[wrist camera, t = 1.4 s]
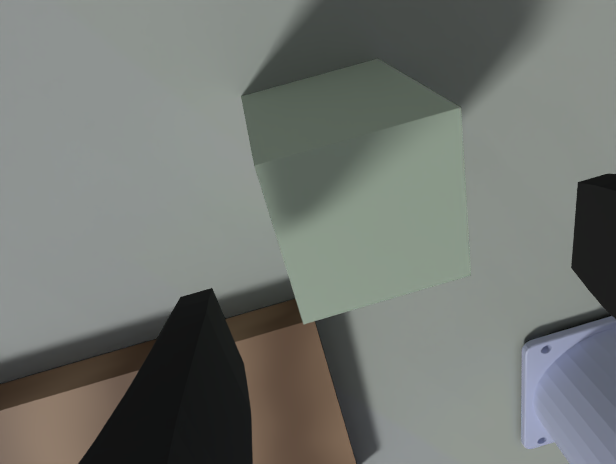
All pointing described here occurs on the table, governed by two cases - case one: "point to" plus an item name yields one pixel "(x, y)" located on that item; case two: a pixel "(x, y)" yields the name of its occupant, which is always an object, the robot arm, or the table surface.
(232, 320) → the board
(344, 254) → the block
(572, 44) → the table surface
